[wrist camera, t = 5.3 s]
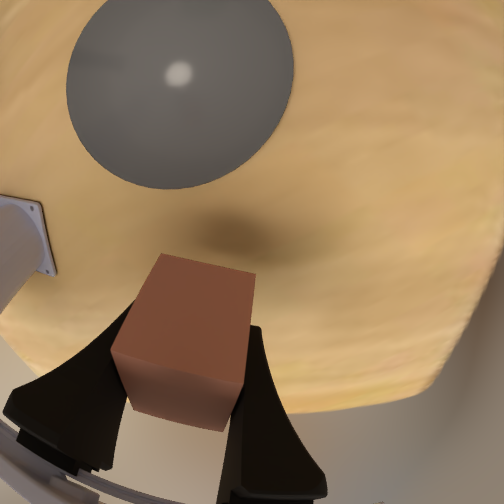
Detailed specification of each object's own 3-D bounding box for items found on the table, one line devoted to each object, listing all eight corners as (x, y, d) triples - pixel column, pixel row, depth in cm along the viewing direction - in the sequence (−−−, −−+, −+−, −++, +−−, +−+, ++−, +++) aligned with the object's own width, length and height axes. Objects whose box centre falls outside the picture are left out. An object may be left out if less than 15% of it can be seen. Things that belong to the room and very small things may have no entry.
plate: (72, 171, 16) (66, 175, 16) (91, -13, 9) (85, -15, 8) (263, 203, 17) (262, 209, 16) (315, -13, 9) (316, -18, 8)
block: (162, 328, 14) (133, 409, 10) (161, 253, 11) (110, 349, 7) (236, 345, 14) (222, 432, 10) (255, 274, 11) (243, 384, 7)
